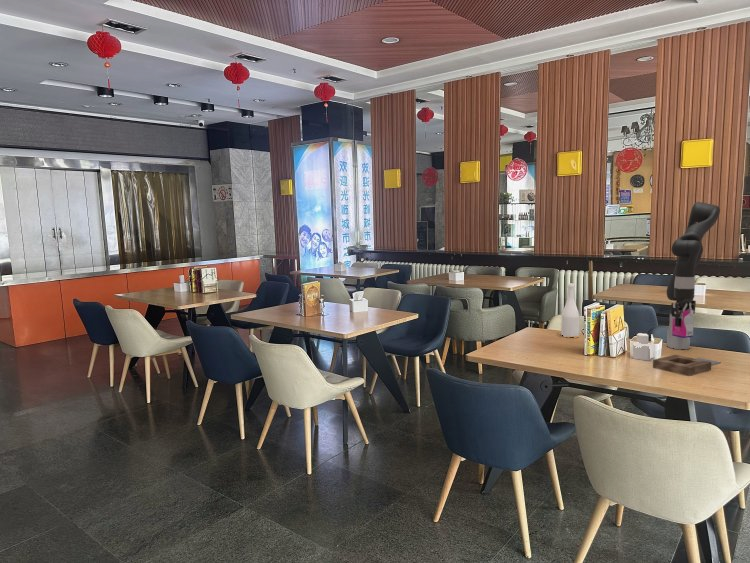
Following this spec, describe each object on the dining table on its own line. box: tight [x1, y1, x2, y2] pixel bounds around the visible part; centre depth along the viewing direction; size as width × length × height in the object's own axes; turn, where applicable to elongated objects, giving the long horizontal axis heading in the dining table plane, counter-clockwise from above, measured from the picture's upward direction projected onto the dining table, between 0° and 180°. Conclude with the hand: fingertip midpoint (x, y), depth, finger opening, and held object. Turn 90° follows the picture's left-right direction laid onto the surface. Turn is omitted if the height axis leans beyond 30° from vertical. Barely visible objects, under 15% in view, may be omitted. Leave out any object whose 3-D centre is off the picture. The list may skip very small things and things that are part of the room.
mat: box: [694, 357, 722, 366], centre depth 241 cm, size 10×10×1 cm
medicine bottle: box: [632, 332, 652, 362], centre depth 250 cm, size 7×7×12 cm
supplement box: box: [672, 310, 695, 338], centre depth 230 cm, size 6×6×12 cm
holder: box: [652, 354, 712, 377], centre depth 231 cm, size 16×16×4 cm
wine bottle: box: [560, 282, 580, 337], centre depth 299 cm, size 10×10×30 cm
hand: (682, 325), depth 230 cm, fingers closed on supplement box, 6 cm apart
